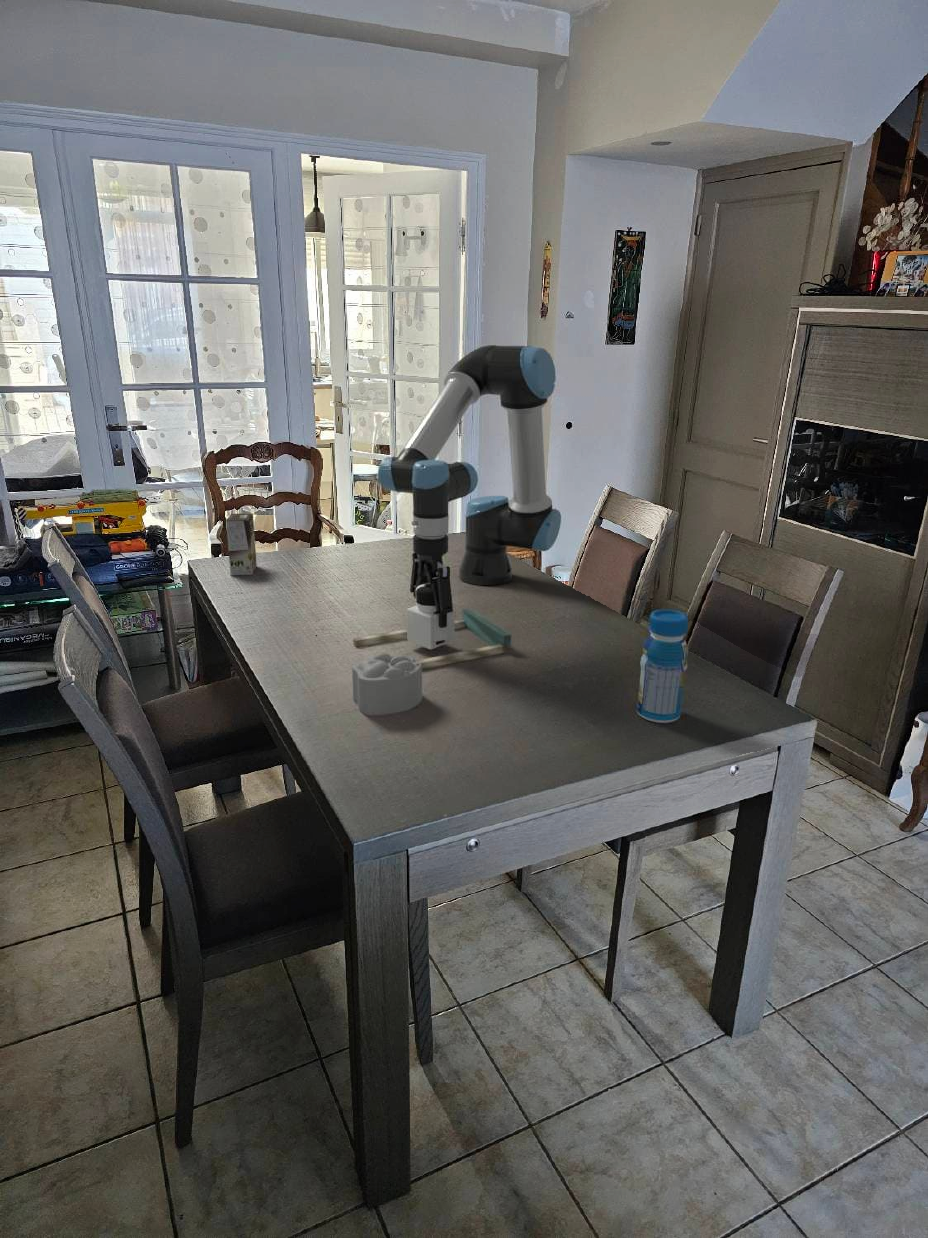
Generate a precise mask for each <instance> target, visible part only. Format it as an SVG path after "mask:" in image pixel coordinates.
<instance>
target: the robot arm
mask: <svg viewBox="0 0 928 1238" xmlns="http://www.w3.org/2000/svg"><path fill="white" fill-rule="evenodd" d="M556 378H557V377H556V366H555V363H554V360H553V358H552V356H551V354H550V353H549V352H548V350H546V349H545V348H542V347H537V346H533V345H532V346H531V345H494V344H491V345H489V344H488V345H484V346H480V347H478V348H476V349H474V350H472V351H470V352H469V353H467V354H466V355H464V356H463V357H462V358H461V359H459V360H458V361H457V362H456V363H455V364H454V365H453V367H451V369H450V370H449V371H448V374H447V375H446V376H445V378H444V379H443V380H444V381H443V388H442V389H441V391H440V393H439V394H438V395H437V397H436V399H435V400H434V402H433V403H432V404H431V406H430V407H429V409H428V411H427V412H426V414H425V415H424V417H423V418H422V420H421V421H420V423H419V424H418V426H417V427H416V428H415V430H414V432H413V433H412V435H411V436H410V438H409V439H408V441H407V443H405V446H404V447H403V448H402V450H401V451H400V452H399V454H398V455H397V456H396V457H395V456H387V457H385V458H383V459H382V460H381V461H380V463H379V466H378V468H377V469H378V470H377V479H378V481H379V484H380V486H381V488H383V489H384V490H387V491H392V492H396V493H406V494H412V515H413V516H412V520H413V521H411V525H412V527H413V528H412V530H413V531H412V532H413V534H414V535H413V536H412V547H413V549H412V551H413V552H412V555H411V556H412V557H411V558H412V566H411V576H410V585H409V586H410V587H409V592H410V593H411V594H412V593H413V598H415V599H414V606H416V588H417V587H418V586H419V585H422V584H425V583H430V584H431V587H432V592H433V596H434V601H435V606H436V612H434V640H435V641H442V640H447V613H450V612H453V609H454V606H453V605H454V604H453V597H452V588H451V587H452V586H451V578H450V577H451V567H450V566H449V565H448V566H445V565H444V562H443V556H444V555H446V554H448V552H449V535H448V533H449V503H450V502H452V501H455V500H457V499H458V500H459V499H460V498H461V499H463V498H466V496H468V495H470V494H472V493H473V492H474V491H475V489H476V488H477V486H478V482H479V478H478V477H479V475H478V473H477V471H476V469H475V468H474V466H473V465H472V464H471V463H470V462H466V461H456V462H452V463H448V462H446V461H443V460H439V459H438V460H437V457H438V456H439V454H440V452H441V451H442V450H443V447H444V446H445V445H446V443H447V441H448V440H449V438H450V437H451V435H452V434H453V432H454V430H455V429H456V427H457V426H458V424H459V423H460V421H461V420H462V418H463V417H464V415H465V413H466V412H467V410H468V409H469V407H470V405H473V404H476V403H477V402H478V401H479V399H480V398H481V397H482V396H486V395H493V396H494V395H495V396H499V398H500V406H501V408H503V409H504V410H505V411H507V423H508V437H509V450H510V451H509V453H510V464H511V476H512V477H511V478H512V491H513V493H512V494H513V497H512V498H511V499H510V500H509V497H508V496H504V495H487V496H481V497H476V498H472V499H471V500H469V501H468V502H467V504H466V508H465V515H464V517H465V549H464V550H465V552H464V554H463V556H462V560H461V562H460V565H459V568H458V579H459V580H461V581H462V582H465V583H467V584H473V585H477V586H478V585H480V586H494V585H495V586H496V585H502V584H505V583H508V582H510V581H511V580H512V577H513V576H512V572H513V571H512V567H511V563H510V560H509V557H508V553H507V547H510V548H511V547H512V548H519V549H524V550H530V551H533V552H534V551H535V552H536V551H537V552H547V551H549V550H550V549H551V548H552V547H553V546H554V544H555V542H556V541H557V538H558V536H559V533H560V529H561V524H562V523H561V522H562V514H561V511H559V510H558V509H557V508H553V499H552V498H551V497H550V496H548V495H547V491H546V489H547V488H546V470H545V469H546V468H545V450H544V447H545V445H544V431H543V430H544V429H543V427H544V426H543V407H545V406H546V404H547V403H548V398H550V397H551V396H552V395H553V393H554V390H555V387H556V384H555V382H556Z"/></svg>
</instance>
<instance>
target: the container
mask: <svg viewBox="0 0 928 1238" xmlns="http://www.w3.org/2000/svg"><path fill="white" fill-rule="evenodd" d="M455 609H456V608H453V612H450V613H447V640H442V641H435V640H434V612H436V606H435V601H434V596H433V592H432V587H431V584H430V583H425V584H422V585H419V586H418V587H417V588H416V606H415V605H413V606H411V607H408V608H407V609H406V629H407V638H406V639H407V640H406V641H408V642H411V643H413V644H415V645H417V646H420V647H423V648H425V649H428V650H433V649H436V648H439V647H440V646H441V647H442V646H444V645H447V644H449V643H452V642H454V641H455V630H456V629H455V621H456V620H455V619H456V617H455V614H456V613H455V612H456V611H455Z"/></svg>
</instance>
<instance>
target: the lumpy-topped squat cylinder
mask: <svg viewBox="0 0 928 1238" xmlns="http://www.w3.org/2000/svg"><path fill="white" fill-rule="evenodd" d="M351 672H352V673H351V674H352V675H351V677H352V699H353V702H354V704H355V705H357V707H358V710H359V712H360V713H361V714H363V715H366V716H375V717H376V716H383V715H384V716H385V715H390V714H396V713H397V714H398V713H402V712H405V711H410V710H411V709H413V708H415V707H416V706H417V705H419V704H420V703H421V702H422V701H423V669H422V665H421V663H420V662H418V661H417V660H416V659H414V658H409V657H407V656H405V655H401V654H400V655H392V656H391V655H390V654H389V653H385V652H379V653H377V654H375V655H374V656H373V657H372V658H369V659H365V660H359V661H357V662H355V663H354V664H353V665H352V667H351Z"/></svg>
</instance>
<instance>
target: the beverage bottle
mask: <svg viewBox="0 0 928 1238" xmlns="http://www.w3.org/2000/svg"><path fill="white" fill-rule="evenodd" d="M688 625H689V618H688V615H687V614H686V613H683V612H681V611H679V610H674V609H664V608H663V609H656V610H653V611H651V613H650V616H649V622H648V631H649V633H650V634H649V635H648V636H647V638H646V639H645V641H644V642H643V645H642V651H643V654H642V656H641V657H640V662H639V663H640V677H639V685H638V686H639V688H638V696H637V702H636V708H635V709H636V713H637V714H638V716H640V717H641V718H643V720H647V721H650V722H652V723H658V724H669V723H674V722H676V721H678V720H679V718H680V717H681V715H682V702H683V701H682V700H683V693H684V686H685V685H684V684H685V679H686V677H685V676H686V672H687V670H688V659H687V657H688V655H689V646H688V644H687V642H686V640H685V638H684V637H685V636H686V634H687V632H688Z"/></svg>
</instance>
